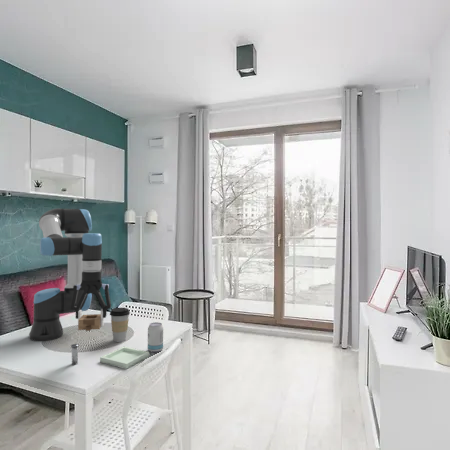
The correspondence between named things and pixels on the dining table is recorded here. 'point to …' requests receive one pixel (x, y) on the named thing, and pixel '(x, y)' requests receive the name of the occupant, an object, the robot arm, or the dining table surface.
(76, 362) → the grey round-topped rod
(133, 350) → the tray
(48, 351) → the dining table surface
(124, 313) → the coffee cup
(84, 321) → the brown rectangular frame
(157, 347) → the beverage can
